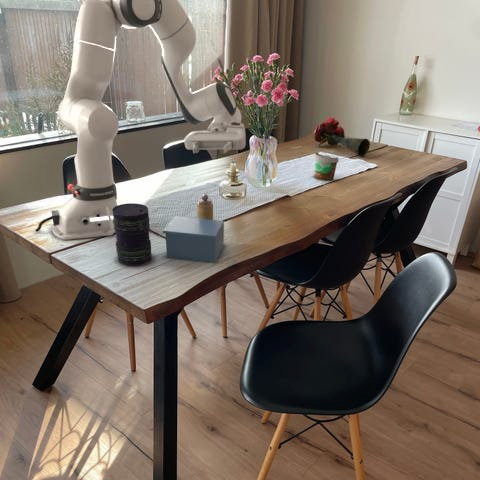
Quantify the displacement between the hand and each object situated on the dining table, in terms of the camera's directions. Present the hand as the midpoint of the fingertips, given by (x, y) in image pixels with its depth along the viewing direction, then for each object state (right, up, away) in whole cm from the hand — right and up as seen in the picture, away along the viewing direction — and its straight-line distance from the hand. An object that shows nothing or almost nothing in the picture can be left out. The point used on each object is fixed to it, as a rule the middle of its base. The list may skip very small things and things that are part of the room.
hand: (208, 150), depth 154 cm
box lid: (-4, -27, -11) cm, 29 cm away
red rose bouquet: (+65, +39, +110) cm, 134 cm away
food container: (+46, +9, +62) cm, 78 cm away
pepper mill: (-1, -27, +2) cm, 27 cm away
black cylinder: (-21, -36, -13) cm, 44 cm away
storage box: (-3, -33, -8) cm, 34 cm away
